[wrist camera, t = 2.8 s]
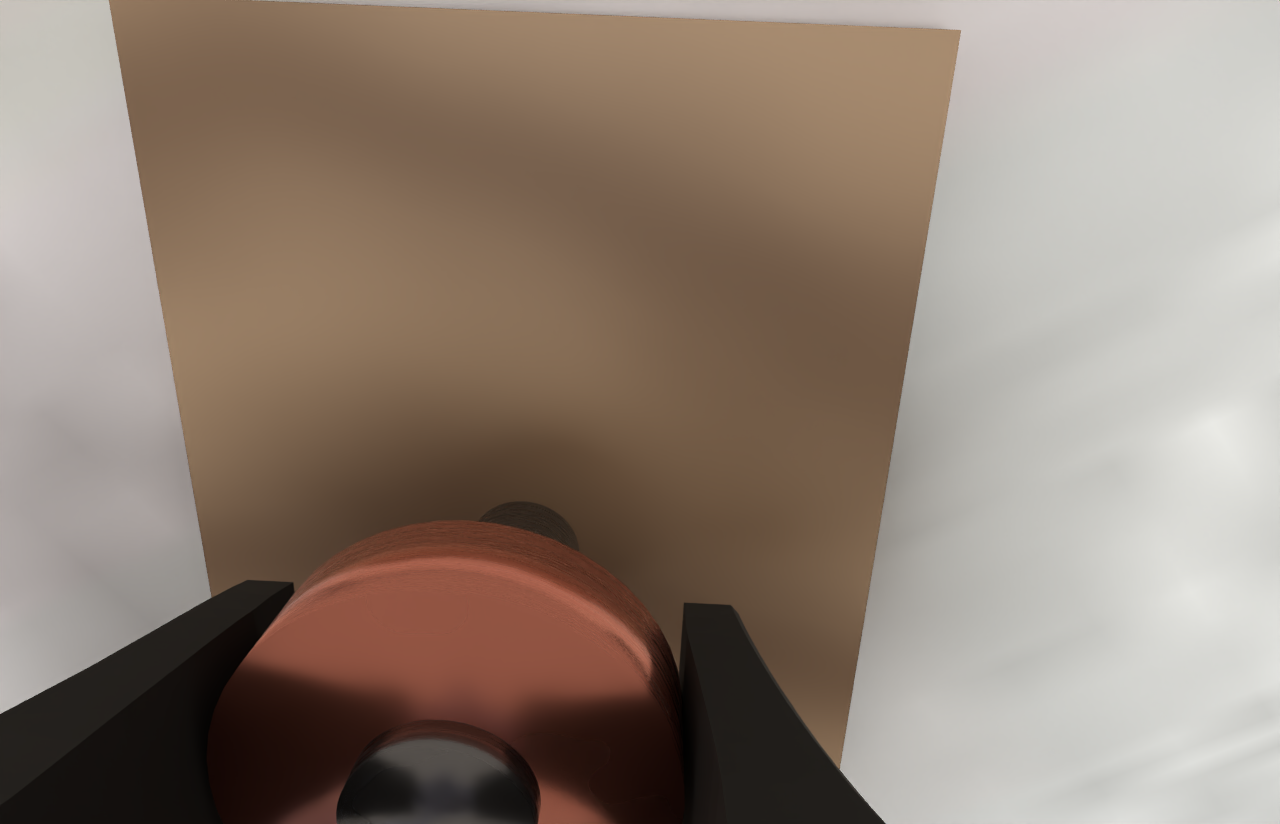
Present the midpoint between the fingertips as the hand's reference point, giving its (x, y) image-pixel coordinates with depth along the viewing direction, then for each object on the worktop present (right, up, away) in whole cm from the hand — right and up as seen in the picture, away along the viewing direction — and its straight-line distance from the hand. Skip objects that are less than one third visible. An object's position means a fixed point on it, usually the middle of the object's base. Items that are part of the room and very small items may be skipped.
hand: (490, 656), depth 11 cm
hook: (0, -4, +4) cm, 6 cm away
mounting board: (0, 0, +5) cm, 5 cm away
